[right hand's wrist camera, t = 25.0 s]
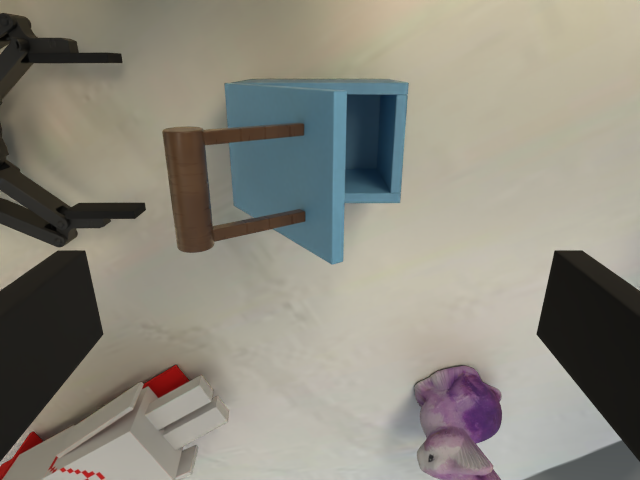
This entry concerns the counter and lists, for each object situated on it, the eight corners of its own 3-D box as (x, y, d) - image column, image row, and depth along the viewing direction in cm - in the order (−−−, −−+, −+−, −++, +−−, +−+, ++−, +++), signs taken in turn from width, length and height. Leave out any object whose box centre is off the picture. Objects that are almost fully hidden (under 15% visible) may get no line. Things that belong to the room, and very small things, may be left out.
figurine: (395, 400, 58) (419, 504, 45) (447, 348, 55) (489, 443, 41) (448, 431, 60) (486, 541, 47) (500, 383, 57) (558, 485, 44)
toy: (237, 466, 50) (17, 583, 51) (243, 392, 63) (66, 488, 64) (176, 391, 46) (-60, 520, 47) (195, 328, 59) (8, 432, 60)
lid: (347, 90, 23) (179, 96, 18) (343, 261, 26) (202, 302, 22) (234, 82, 34) (112, 85, 29) (242, 204, 37) (135, 223, 33)
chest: (388, 79, 44) (408, 82, 34) (383, 174, 47) (400, 203, 37) (250, 79, 44) (230, 82, 34) (255, 174, 47) (239, 203, 37)
